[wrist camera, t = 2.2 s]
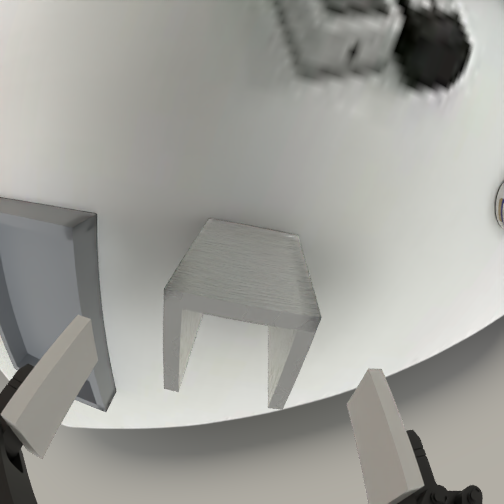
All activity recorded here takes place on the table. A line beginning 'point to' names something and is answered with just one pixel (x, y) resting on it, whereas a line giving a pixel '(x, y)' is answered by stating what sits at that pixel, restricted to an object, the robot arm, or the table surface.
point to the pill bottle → (500, 206)
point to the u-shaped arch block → (242, 298)
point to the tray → (51, 287)
